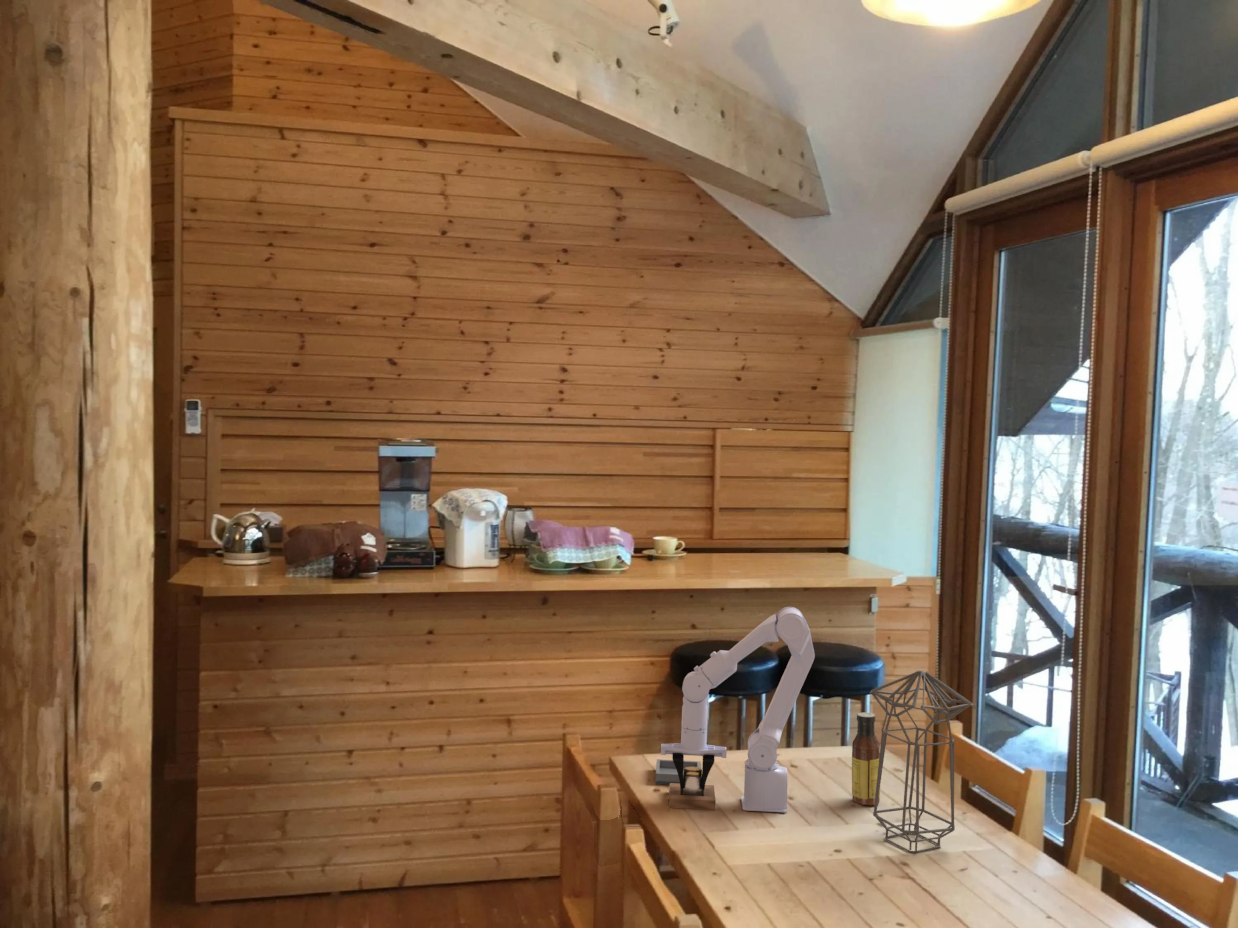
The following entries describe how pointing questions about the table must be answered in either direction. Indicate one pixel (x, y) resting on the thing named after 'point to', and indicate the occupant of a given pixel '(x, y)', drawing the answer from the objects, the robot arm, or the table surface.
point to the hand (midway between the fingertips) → (692, 787)
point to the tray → (671, 771)
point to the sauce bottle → (865, 761)
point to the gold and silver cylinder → (692, 781)
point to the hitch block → (692, 798)
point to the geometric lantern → (917, 750)
